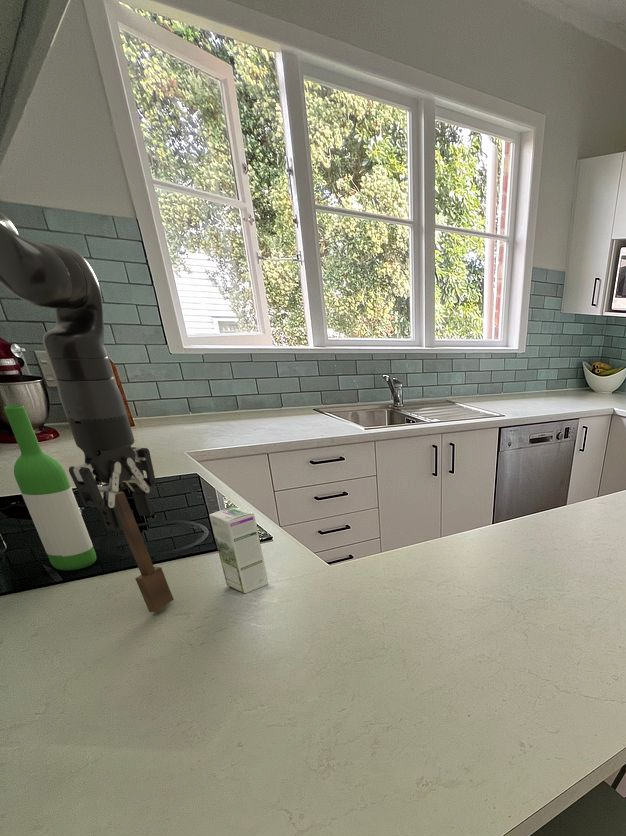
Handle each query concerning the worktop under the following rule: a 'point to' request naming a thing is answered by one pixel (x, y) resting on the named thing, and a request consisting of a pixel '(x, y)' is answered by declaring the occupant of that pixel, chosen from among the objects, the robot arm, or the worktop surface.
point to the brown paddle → (143, 560)
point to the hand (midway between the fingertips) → (131, 522)
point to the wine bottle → (49, 499)
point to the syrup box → (239, 549)
